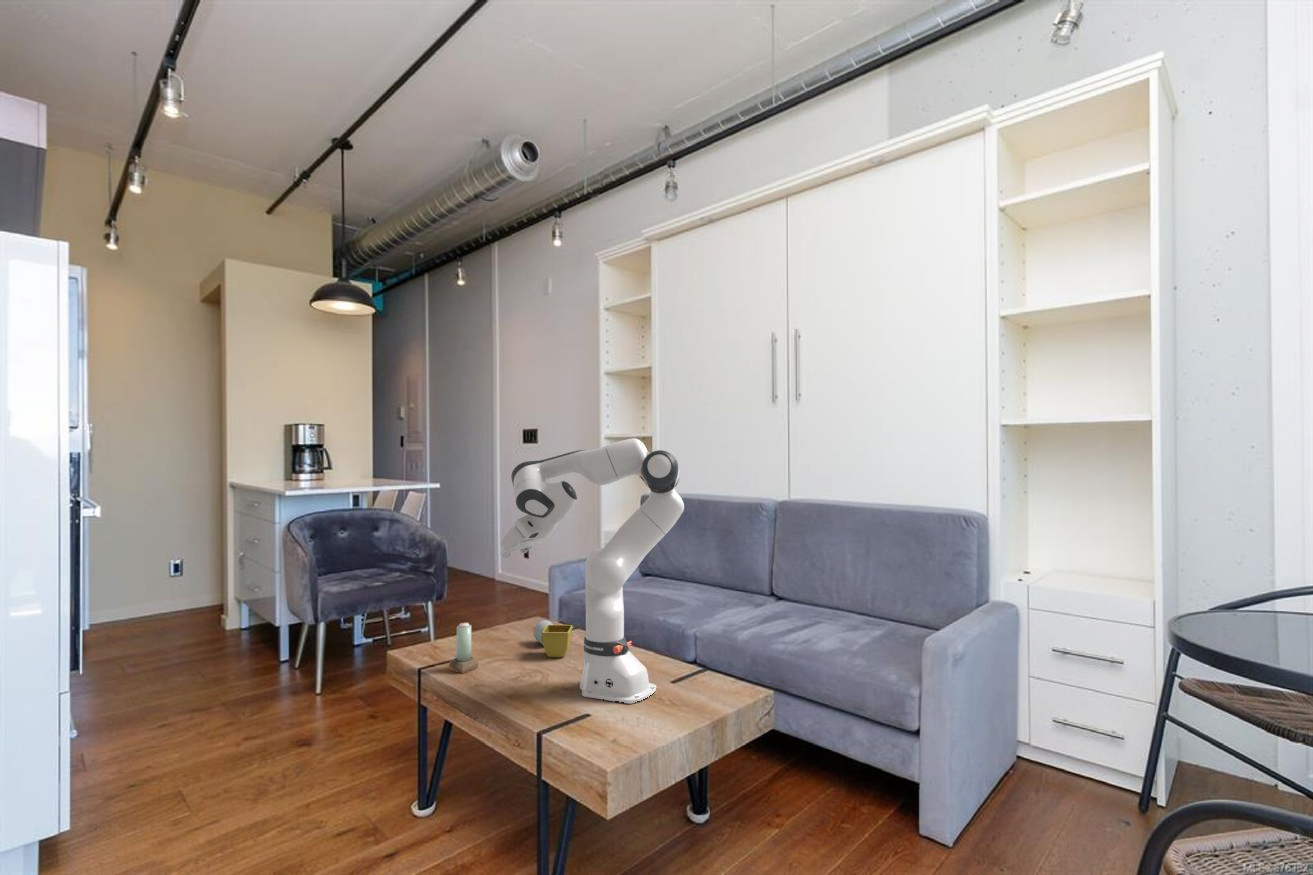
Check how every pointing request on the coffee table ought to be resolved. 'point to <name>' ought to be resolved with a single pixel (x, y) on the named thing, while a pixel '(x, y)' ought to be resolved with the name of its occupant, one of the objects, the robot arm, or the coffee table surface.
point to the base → (463, 665)
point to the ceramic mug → (540, 630)
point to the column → (463, 642)
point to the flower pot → (556, 639)
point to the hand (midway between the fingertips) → (513, 553)
